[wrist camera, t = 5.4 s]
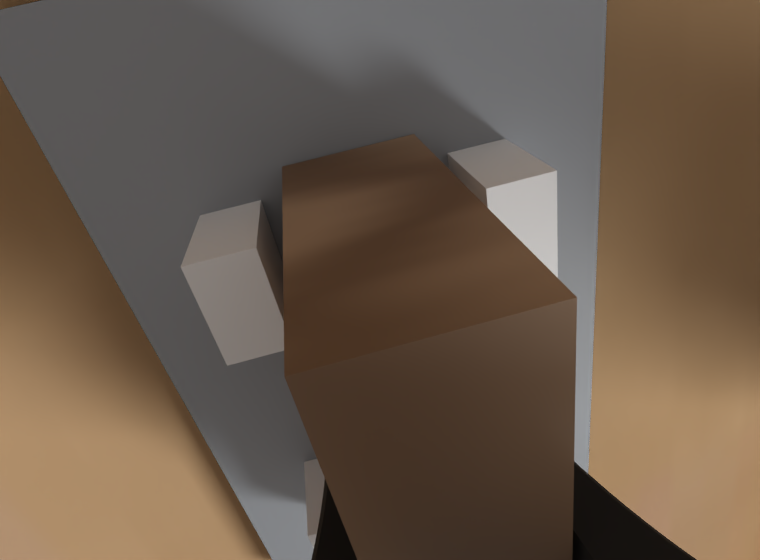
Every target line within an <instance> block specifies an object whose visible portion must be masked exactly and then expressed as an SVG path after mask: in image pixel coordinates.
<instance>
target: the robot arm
mask: <svg viewBox="0 0 760 560" xmlns="http://www.w3.org/2000/svg"><path fill="white" fill-rule="evenodd" d="M311 560H357V557H356V555H355V552H354V550H353V547H352V545H351V542H350V540H349V537H348V535H347V532H346V530H345V527H344V525H343V522H342V520H341V517H340V515H339V512H338V510H337V507H336V505H335V502H334V500H333V497H332V495H331V492H330V490H329V487H328V485H327V482H326V480H325V481H324V491H323V499H322V506H321V512H320V518H319V524H318V530H317V535H316V540H315V545H314V549H313V554H312V559H311ZM572 560H696V559H695V558H693V557H692V556H691V555H689V554H688V553H686V552H685V551H684V550H682V549H681V548H679V547H678V546H677V545H675V544H674V543H673V542H671V541H670V540H669V539H667V538H666V537H665V536H663V535H662V534H661V533H659V532H658V531H657V530H655V529H654V528H653V527H652V526H650V525H649V524H648V523H646V522H645V521H644V520H643V519H641V518H640V517H639V516H638V515H636V514H635V513H634V512H633V511H631V510H630V509H629V508H628V507H626V506H625V505H624V504H623V503H622V502H620V501H619V500H618V499H617V498H616V497H614V496H613V495H612V494H611V493H610V492H608V491H607V490H606V489H605V488H604V487H603V486H602V485H600V484H599V483H598V482H597V481H596V480H595V479H594V478H592V477H591V476H590V475H589V474H588V473H587V472H586V471H584V470H583V469H582V468H581V467H580V466H579V465H578V464H577V463H576V462H574V498H573V554H572Z"/></svg>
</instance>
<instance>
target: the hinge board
mask: <svg viewBox="0 0 760 560" xmlns="http://www.w3.org/2000/svg"><path fill="white" fill-rule="evenodd" d="M606 15H607V0H41V1H37V2H32V3H28V4H23V5H19V6H14V7H10V8H5V9H1V10H0V77H1V78H2V80H3V82H4V84H5V85H6V87H7V89H8V91H9V93H10V94H11V96H12V98H13V100H14V101H15V103H16V105H17V107H18V109H19V110H20V112H21V114H22V116H23V117H24V119H25V121H26V123H27V125H28V126H29V128H30V130H31V132H32V133H33V135H34V137H35V139H36V141H37V142H38V144H39V146H40V148H41V149H42V151H43V153H44V155H45V157H46V158H47V160H48V162H49V164H50V165H51V167H52V169H53V171H54V173H55V174H56V176H57V178H58V180H59V181H60V183H61V185H62V187H63V189H64V190H65V192H66V194H67V196H68V197H69V199H70V201H71V203H72V205H73V206H74V208H75V210H76V212H77V213H78V215H79V217H80V219H81V221H82V222H83V224H84V226H85V228H86V229H87V231H88V233H89V235H90V236H91V238H92V240H93V242H94V244H95V245H96V247H97V249H98V251H99V252H100V254H101V256H102V258H103V260H104V261H105V263H106V265H107V267H108V268H109V270H110V272H111V274H112V276H113V277H114V279H115V281H116V283H117V284H118V286H119V288H120V290H121V292H122V293H123V295H124V297H125V299H126V300H127V302H128V304H129V306H130V308H131V309H132V311H133V313H134V315H135V316H136V318H137V320H138V322H139V324H140V325H141V327H142V329H143V331H144V332H145V334H146V336H147V338H148V340H149V341H150V343H151V345H152V347H153V348H154V350H155V352H156V354H157V356H158V357H159V359H160V361H161V363H162V364H163V366H164V368H165V370H166V372H167V373H168V375H169V377H170V379H171V380H172V382H173V384H174V386H175V388H176V389H177V391H178V393H179V395H180V396H181V398H182V400H183V402H184V404H185V405H186V407H187V409H188V411H189V412H190V414H191V416H192V418H193V420H194V421H195V423H196V425H197V427H198V428H199V430H200V432H201V434H202V436H203V437H204V439H205V441H206V443H207V444H208V446H209V448H210V450H211V451H212V453H213V455H214V457H215V459H216V460H217V462H218V464H219V466H220V467H221V469H222V471H223V473H224V475H225V476H226V478H227V480H228V482H229V483H230V485H231V487H232V489H233V491H234V492H235V494H236V496H237V498H238V499H239V501H240V503H241V505H242V507H243V508H244V510H245V512H246V514H247V515H248V517H249V519H250V521H251V523H252V524H253V526H254V528H255V530H256V531H257V533H258V535H259V537H260V539H261V540H262V542H263V544H264V546H265V547H266V549H267V551H268V553H269V555H270V556H271V558H272V560H311V559H312V554H313V549H314V545H315V540H316V535H317V530H318V524H319V518H320V512H321V506H322V499H323V491H324V481H325V477H324V475H323V472H322V470H321V467H320V465H319V462H318V460H317V457H316V455H315V452H314V450H313V447H312V445H311V442H310V440H309V437H308V435H307V432H306V430H305V427H304V425H303V422H302V420H301V417H300V415H299V412H298V410H297V407H296V405H295V402H294V400H293V397H292V395H291V392H290V390H289V387H288V385H287V382H286V380H285V377H284V301H283V213H282V167H283V166H287V165H291V164H295V163H299V162H303V161H307V160H311V159H315V158H319V157H323V156H327V155H331V154H335V153H339V152H343V151H347V150H351V149H355V148H359V147H363V146H367V145H371V144H375V143H379V142H384V141H388V140H392V139H396V138H400V137H404V136H408V135H412V134H414V135H415V136H416V137H417V138H418V139H419V140H420V141H421V142H422V143H423V144H424V145H425V146H426V147H427V148H428V149H429V150H430V151H431V152H432V153H433V154H434V155H435V156H436V157H437V158H438V159H439V160H440V161H441V162H442V163H443V164H444V165H445V166H446V167H447V168H448V169H449V170H450V171H451V172H452V173H453V174H454V175H455V176H456V177H457V178H458V179H459V180H460V181H461V182H462V183H463V184H464V185H465V186H466V187H467V188H468V189H469V190H470V191H471V192H472V193H473V194H474V195H475V196H476V197H477V198H478V199H479V200H480V201H481V202H482V203H483V204H484V205H485V206H486V207H487V208H488V209H489V210H490V211H491V212H492V213H493V214H494V215H495V216H496V217H497V218H498V219H499V220H500V221H501V222H502V223H503V224H504V225H505V226H506V227H507V228H508V229H509V230H510V231H511V232H512V233H513V234H514V235H515V236H516V237H517V238H518V239H519V240H520V241H521V242H522V243H523V244H524V245H525V246H526V247H527V248H528V249H529V250H530V251H531V252H532V253H533V254H534V255H535V256H536V257H537V258H538V259H539V260H540V261H541V262H542V263H543V264H544V265H545V266H546V267H547V268H548V269H549V270H550V271H551V272H552V273H553V274H554V275H555V276H556V277H557V278H558V279H559V280H560V281H561V282H562V283H563V284H564V285H565V286H566V287H567V288H568V289H569V290H570V291H571V292H572V293H573V294H574V295H575V296H576V297H577V332H576V387H575V443H574V462H576V463H577V464H578V465H579V466H580V467H581V468H582V469H583V470H584V471H586V472H587V473H588V463H589V439H590V414H591V389H592V364H593V339H594V314H595V289H596V264H597V239H598V214H599V189H600V164H601V140H602V115H603V90H604V65H605V40H606Z"/></svg>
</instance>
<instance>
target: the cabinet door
mask: <svg viewBox="0 0 760 560" xmlns="http://www.w3.org/2000/svg"><path fill="white" fill-rule="evenodd" d="M282 213H283V301H284V377H285V380H286V382H287V385H288V387H289V390H290V392H291V395H292V397H293V400H294V402H295V405H296V407H297V410H298V412H299V415H300V417H301V420H302V422H303V425H304V427H305V430H306V432H307V435H308V437H309V440H310V442H311V445H312V447H313V450H314V452H315V455H316V457H317V460H318V462H319V465H320V467H321V470H322V472H323V475H324V477H325V480H326V482H327V485H328V487H329V490H330V492H331V495H332V497H333V500H334V502H335V505H336V507H337V510H338V512H339V515H340V517H341V520H342V522H343V525H344V527H345V530H346V532H347V535H348V537H349V540H350V542H351V545H352V547H353V550H354V552H355V555H356V557H357V560H572V554H573V498H574V443H575V387H576V332H577V297H576V296H575V295H574V294H573V293H572V292H571V291H570V290H569V289H568V288H567V287H566V286H565V285H564V284H563V283H562V282H561V281H560V280H559V279H558V278H557V277H556V276H555V275H554V274H553V273H552V272H551V271H550V270H549V269H548V268H547V267H546V266H545V265H544V264H543V263H542V262H541V261H540V260H539V259H538V258H537V257H536V256H535V255H534V254H533V253H532V252H531V251H530V250H529V249H528V248H527V247H526V246H525V245H524V244H523V243H522V242H521V241H520V240H519V239H518V238H517V237H516V236H515V235H514V234H513V233H512V232H511V231H510V230H509V229H508V228H507V227H506V226H505V225H504V224H503V223H502V222H501V221H500V220H499V219H498V218H497V217H496V216H495V215H494V214H493V213H492V212H491V211H490V210H489V209H488V208H487V207H486V206H485V205H484V204H483V203H482V202H481V201H480V200H479V199H478V198H477V197H476V196H475V195H474V194H473V193H472V192H471V191H470V190H469V189H468V188H467V187H466V186H465V185H464V184H463V183H462V182H461V181H460V180H459V179H458V178H457V177H456V176H455V175H454V174H453V173H452V172H451V171H450V170H449V169H448V168H447V167H446V166H445V165H444V164H443V163H442V162H441V161H440V160H439V159H438V158H437V157H436V156H435V155H434V154H433V153H432V152H431V151H430V150H429V149H428V148H427V147H426V146H425V145H424V144H423V143H422V142H421V141H420V140H419V139H418V138H417V137H416V136H415V135H414V134H412V135H408V136H404V137H400V138H396V139H392V140H388V141H384V142H379V143H375V144H371V145H367V146H363V147H359V148H355V149H351V150H347V151H343V152H339V153H335V154H331V155H327V156H323V157H319V158H315V159H311V160H307V161H303V162H299V163H295V164H291V165H287V166H283V167H282Z"/></svg>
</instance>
